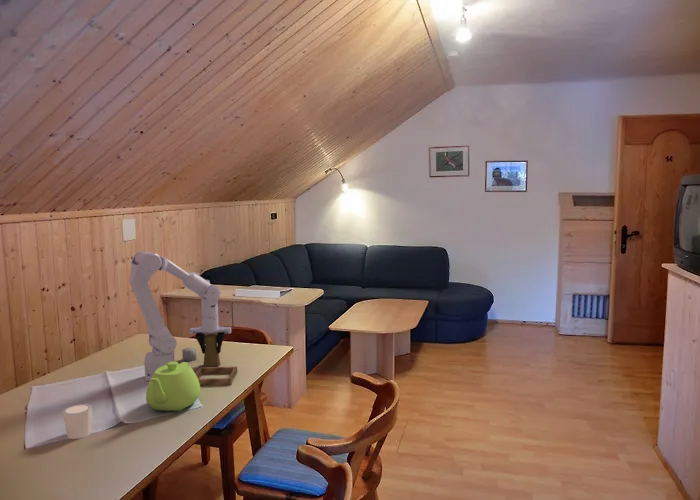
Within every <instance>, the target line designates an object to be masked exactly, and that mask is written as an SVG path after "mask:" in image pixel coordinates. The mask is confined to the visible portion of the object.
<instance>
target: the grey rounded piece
mask: <svg viewBox="0 0 700 500" xmlns="http://www.w3.org/2000/svg"><path fill="white" fill-rule="evenodd" d="M181 352H182V354H181V355H182V362H187V363H189V362H190V363H191V362H195V361H197V358H198V357H197V347H185V348H183V349H181Z"/></svg>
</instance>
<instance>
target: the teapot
mask: <svg viewBox="0 0 700 500" xmlns="http://www.w3.org/2000/svg"><path fill="white" fill-rule="evenodd" d="M148 382H149V383H148V384H147V388H146V395H145V401H146V403H147V404H148V405H149V406H150V408H152V409H153V410H156V411H166V412H169V411H175V412H182V411H183V410H184V409H185V408H187V407H189V406H191V405H192V404H194V403H195V402H196V401H197V400H198V398H199V396H200V394H201V386H200V384H199V380H198V378H197V376H196V372H195V371H194V369H193V368H192V367H191V365H190V364H189V362H184V361H182V362H180V363H179V362H178V361H176V360H175V361H172V362H168V363H167V365H164V366H162V367H160V368H158V369H157V370H156V371H155V372H154V374H153V376H152V378H151V379H150V381H148Z"/></svg>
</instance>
